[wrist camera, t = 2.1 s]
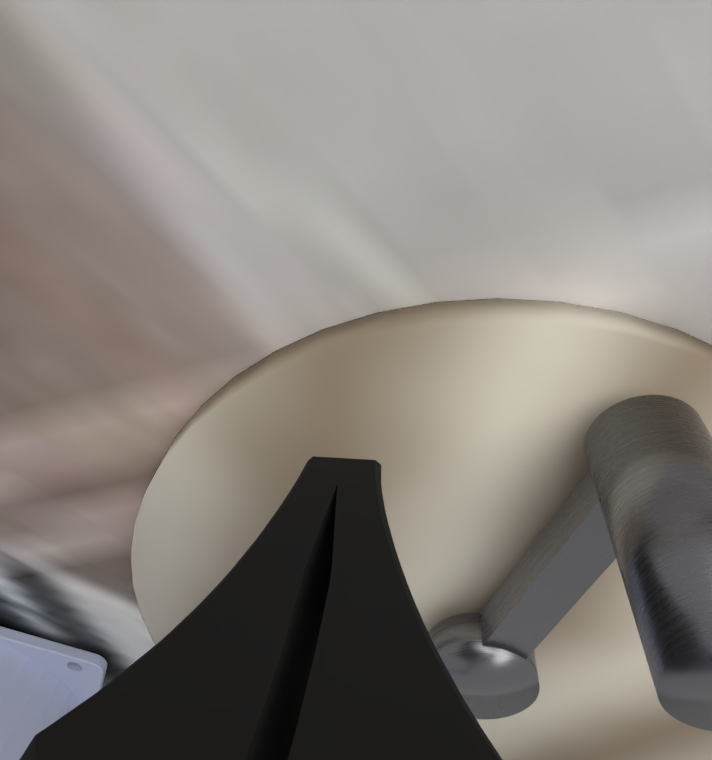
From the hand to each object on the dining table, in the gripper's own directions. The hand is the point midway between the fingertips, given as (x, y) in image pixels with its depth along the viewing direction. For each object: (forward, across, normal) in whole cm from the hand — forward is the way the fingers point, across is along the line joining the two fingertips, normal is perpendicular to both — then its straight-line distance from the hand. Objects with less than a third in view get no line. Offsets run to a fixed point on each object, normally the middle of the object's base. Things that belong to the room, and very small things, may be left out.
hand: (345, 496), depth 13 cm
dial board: (+3, -3, +7) cm, 9 cm away
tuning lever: (+2, -5, +4) cm, 6 cm away
